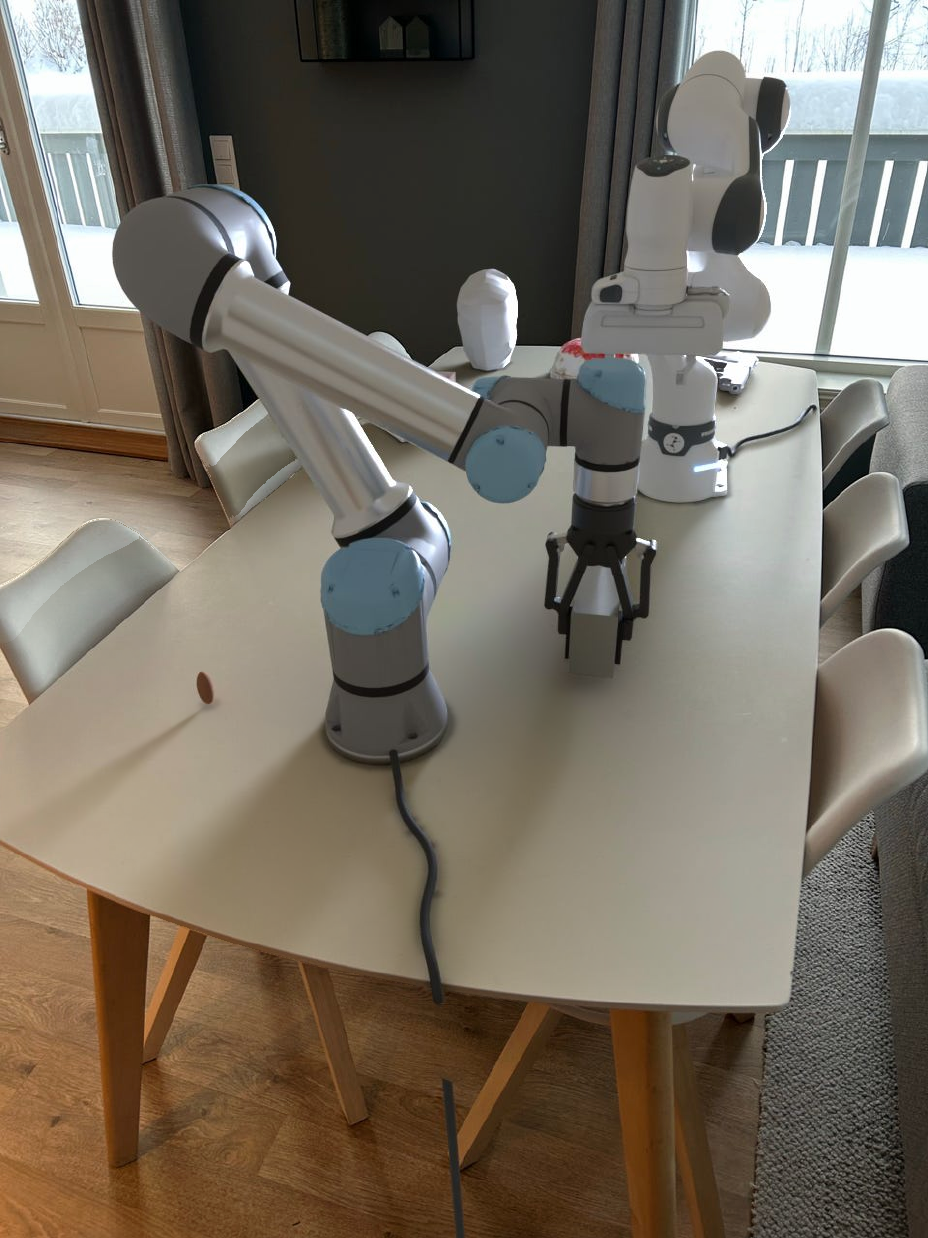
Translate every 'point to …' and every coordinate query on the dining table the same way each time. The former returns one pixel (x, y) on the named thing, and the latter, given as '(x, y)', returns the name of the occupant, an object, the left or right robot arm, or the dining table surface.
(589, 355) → the cake
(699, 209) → the right robot arm
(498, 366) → the white faceted oval
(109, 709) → the dining table surface
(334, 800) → the dining table surface
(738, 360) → the pistol
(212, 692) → the brown oval piece
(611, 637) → the bar
